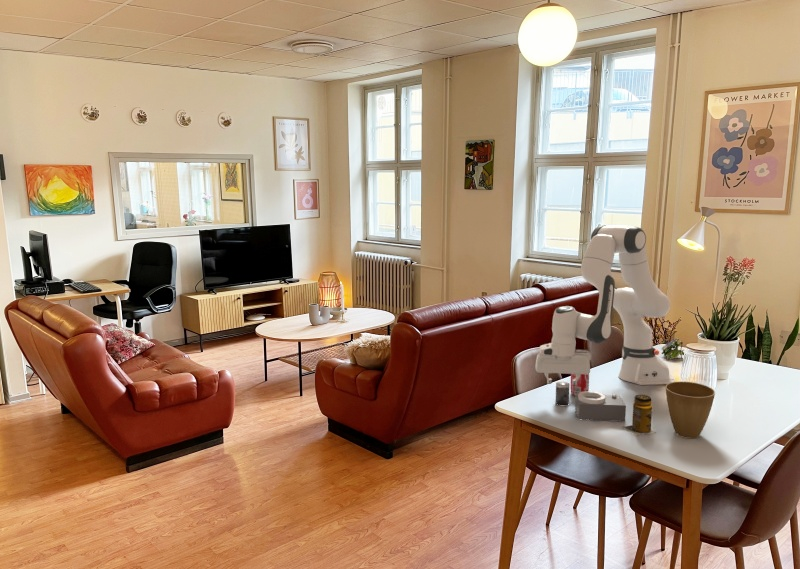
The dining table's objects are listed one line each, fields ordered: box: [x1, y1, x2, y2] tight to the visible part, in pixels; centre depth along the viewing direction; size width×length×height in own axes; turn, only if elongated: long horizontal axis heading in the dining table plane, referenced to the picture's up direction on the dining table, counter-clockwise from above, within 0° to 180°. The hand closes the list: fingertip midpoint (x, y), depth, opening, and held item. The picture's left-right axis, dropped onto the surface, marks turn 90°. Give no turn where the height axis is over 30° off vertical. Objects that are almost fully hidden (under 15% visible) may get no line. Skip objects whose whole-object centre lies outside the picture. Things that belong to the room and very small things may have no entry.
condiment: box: [621, 394, 657, 436], centre depth 206 cm, size 7×8×12 cm
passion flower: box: [660, 337, 685, 361], centre depth 289 cm, size 11×11×12 cm
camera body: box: [574, 390, 627, 423], centre depth 219 cm, size 16×10×8 cm, turn 82°
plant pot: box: [665, 381, 716, 439], centre depth 201 cm, size 15×15×16 cm
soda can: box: [569, 373, 590, 396], centre depth 241 cm, size 7×7×12 cm
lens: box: [555, 381, 570, 406], centre depth 232 cm, size 5×5×8 cm
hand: (561, 384), depth 231 cm, fingers open, 8 cm apart
